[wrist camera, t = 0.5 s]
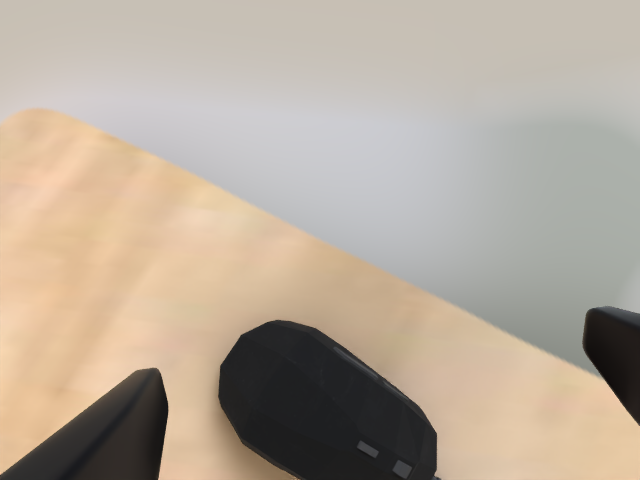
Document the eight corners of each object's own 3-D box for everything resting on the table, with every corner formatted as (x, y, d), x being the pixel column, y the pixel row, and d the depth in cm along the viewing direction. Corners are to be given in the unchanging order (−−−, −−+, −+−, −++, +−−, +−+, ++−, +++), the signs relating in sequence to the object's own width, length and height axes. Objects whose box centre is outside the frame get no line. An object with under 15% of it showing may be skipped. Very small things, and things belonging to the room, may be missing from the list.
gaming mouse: (441, 564, 22) (479, 618, 18) (195, 403, 22) (180, 423, 18) (498, 450, 23) (545, 478, 19) (266, 297, 23) (267, 294, 19)
